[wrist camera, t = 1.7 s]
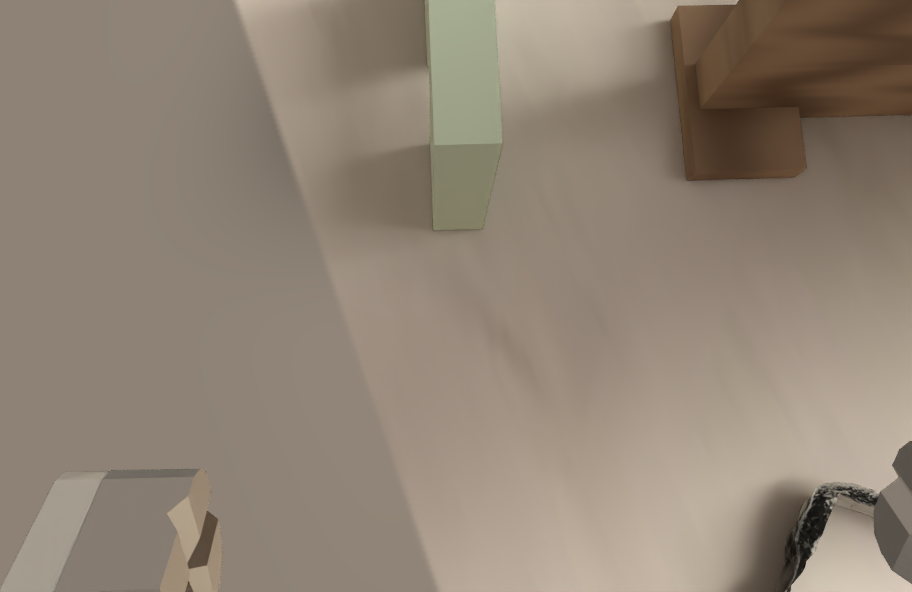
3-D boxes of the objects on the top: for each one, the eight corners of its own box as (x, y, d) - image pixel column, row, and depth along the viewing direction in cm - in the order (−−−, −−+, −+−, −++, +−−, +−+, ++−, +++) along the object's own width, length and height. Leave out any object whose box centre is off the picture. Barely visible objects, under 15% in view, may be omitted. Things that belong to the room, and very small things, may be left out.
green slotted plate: (482, 228, 35) (502, 143, 25) (433, 230, 35) (434, 145, 25) (470, -15, 37) (484, -181, 27) (424, -14, 37) (421, -181, 27)
